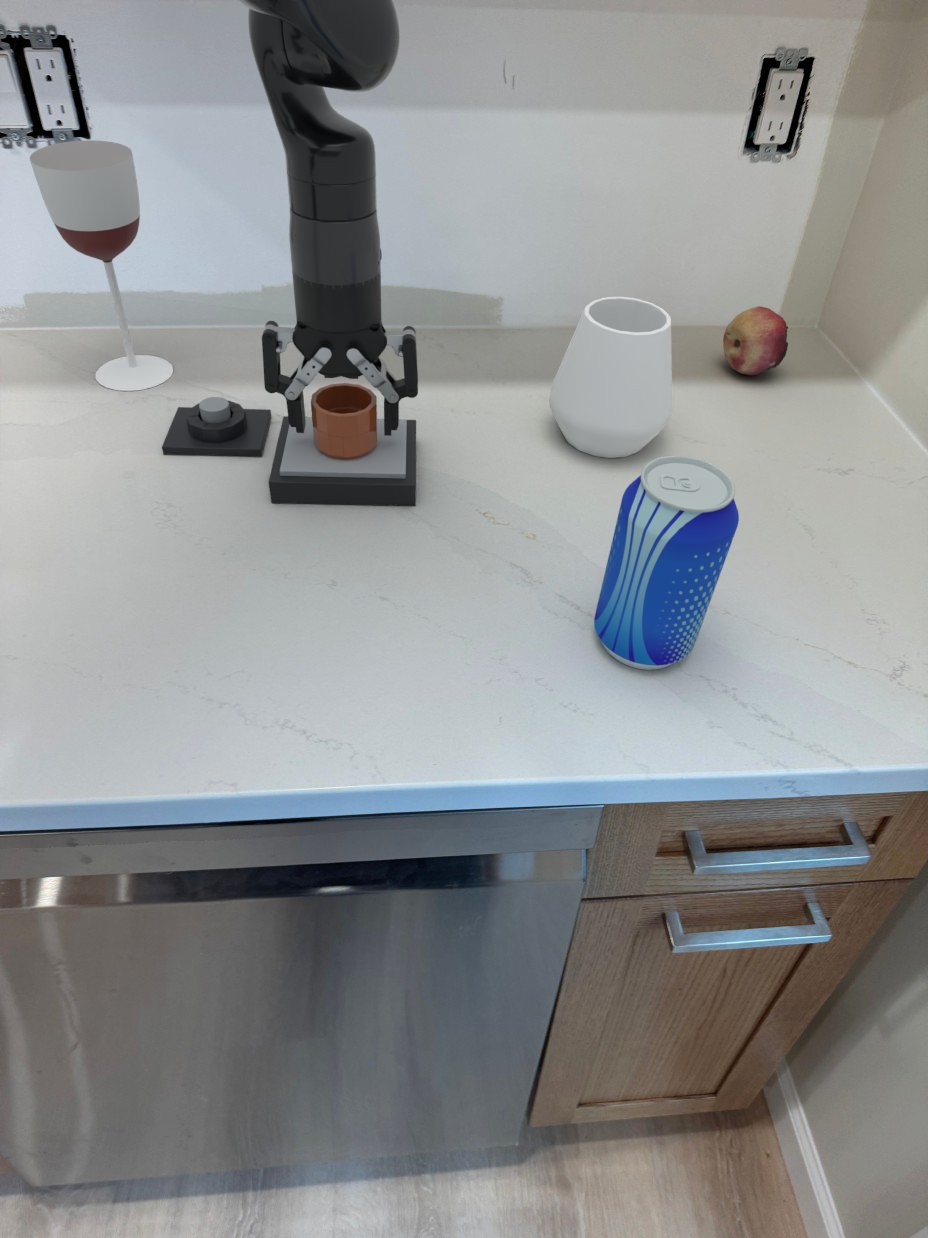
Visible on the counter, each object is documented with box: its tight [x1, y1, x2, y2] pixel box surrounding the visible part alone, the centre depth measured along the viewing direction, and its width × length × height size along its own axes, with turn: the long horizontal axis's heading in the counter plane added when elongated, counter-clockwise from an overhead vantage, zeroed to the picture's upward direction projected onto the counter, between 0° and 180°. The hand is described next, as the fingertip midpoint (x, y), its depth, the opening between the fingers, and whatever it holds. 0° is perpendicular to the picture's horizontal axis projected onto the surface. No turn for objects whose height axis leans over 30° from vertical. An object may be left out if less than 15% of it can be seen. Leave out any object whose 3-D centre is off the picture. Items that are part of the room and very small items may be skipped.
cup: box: [548, 296, 673, 459], centre depth 87 cm, size 13×13×14 cm
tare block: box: [161, 399, 272, 457], centre depth 87 cm, size 10×8×2 cm
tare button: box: [199, 396, 231, 423], centre depth 86 cm, size 3×3×2 cm
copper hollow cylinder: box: [310, 382, 378, 459], centre depth 80 cm, size 6×6×5 cm
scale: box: [268, 415, 417, 507], centre depth 83 cm, size 14×12×3 cm
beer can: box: [593, 455, 740, 671], centre depth 63 cm, size 8×8×16 cm
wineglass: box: [29, 139, 174, 392], centre depth 88 cm, size 9×10×23 cm
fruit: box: [722, 305, 789, 376], centre depth 102 cm, size 8×8×8 cm
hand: (345, 430), depth 81 cm, fingers open, 8 cm apart
